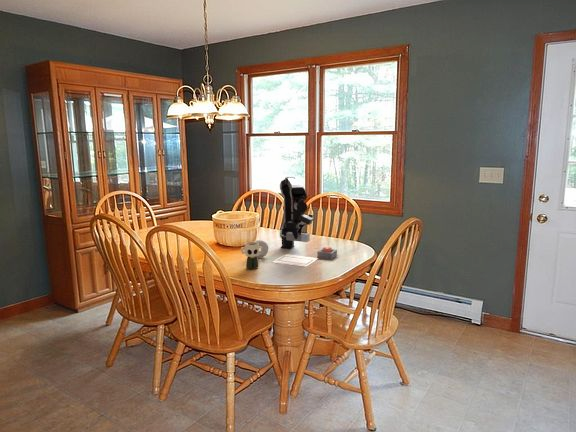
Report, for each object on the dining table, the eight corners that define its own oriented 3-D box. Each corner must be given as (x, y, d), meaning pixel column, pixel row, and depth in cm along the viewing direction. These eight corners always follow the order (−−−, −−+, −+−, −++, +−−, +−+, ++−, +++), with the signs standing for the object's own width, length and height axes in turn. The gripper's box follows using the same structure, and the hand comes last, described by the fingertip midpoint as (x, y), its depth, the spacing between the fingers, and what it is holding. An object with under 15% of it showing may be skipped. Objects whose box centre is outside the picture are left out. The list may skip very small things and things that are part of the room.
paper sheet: (271, 262, 227) (271, 261, 227) (285, 254, 242) (285, 254, 242) (306, 266, 218) (306, 266, 218) (318, 258, 233) (318, 258, 233)
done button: (321, 254, 236) (321, 248, 235) (324, 252, 240) (324, 246, 239) (329, 255, 234) (329, 249, 233) (332, 253, 238) (332, 247, 237)
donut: (268, 256, 238) (268, 239, 236) (268, 258, 234) (268, 240, 233) (250, 257, 236) (249, 239, 234) (250, 259, 233) (250, 241, 231)
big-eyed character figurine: (242, 270, 212) (241, 245, 210) (241, 266, 219) (240, 242, 217) (263, 269, 214) (263, 244, 212) (262, 265, 221) (261, 241, 219)
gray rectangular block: (286, 240, 232) (286, 233, 231) (289, 238, 235) (289, 231, 234) (306, 242, 227) (306, 234, 226) (309, 240, 230) (309, 233, 229)
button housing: (317, 257, 235) (317, 251, 234) (322, 253, 242) (322, 248, 242) (331, 259, 231) (331, 253, 231) (336, 255, 239) (337, 249, 238)
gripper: (304, 213, 216) (304, 243, 219) (317, 208, 233) (317, 236, 236) (284, 212, 221) (284, 241, 224) (299, 207, 238) (299, 234, 240)
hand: (297, 238), depth 231 cm, fingers closed on gray rectangular block, 3 cm apart
